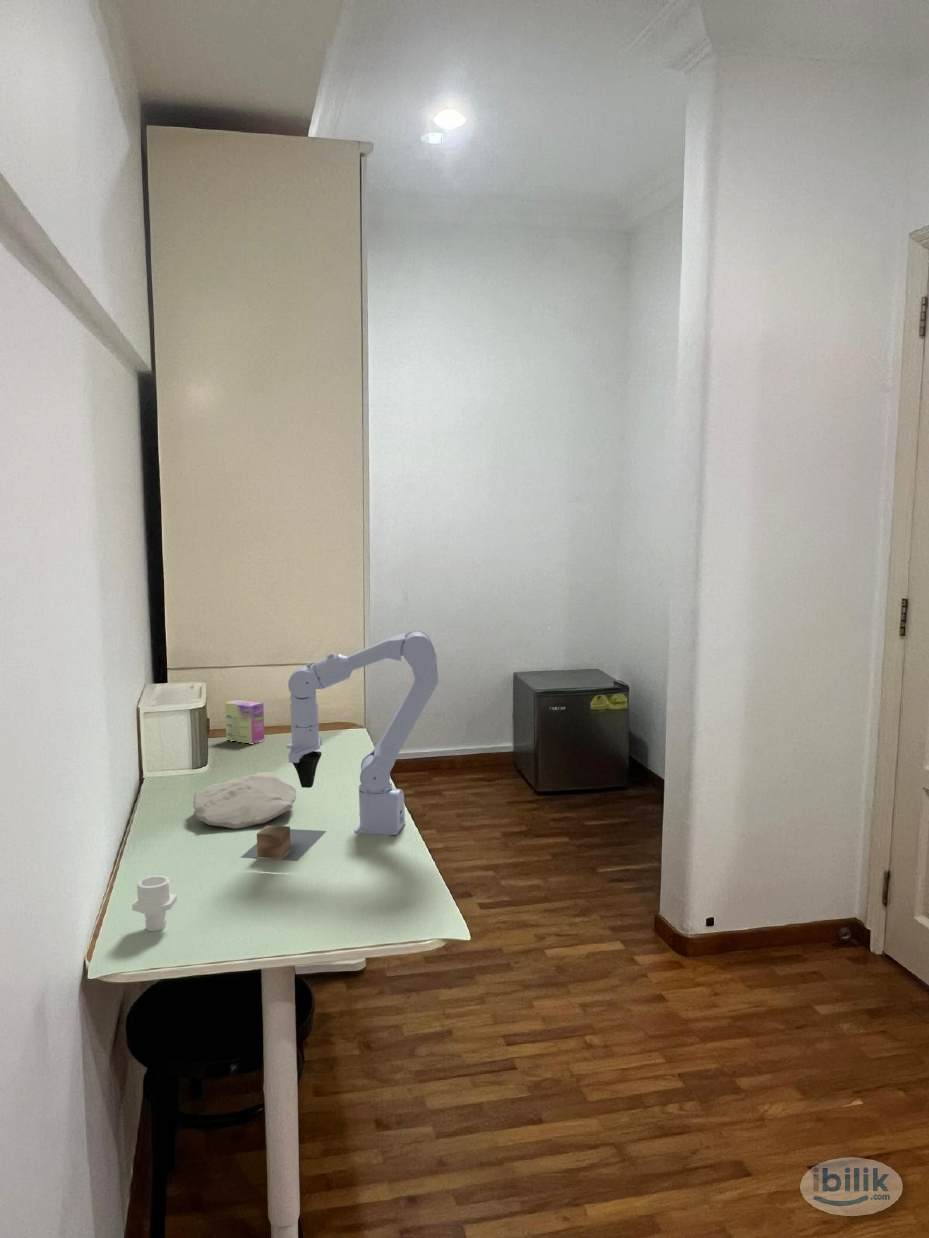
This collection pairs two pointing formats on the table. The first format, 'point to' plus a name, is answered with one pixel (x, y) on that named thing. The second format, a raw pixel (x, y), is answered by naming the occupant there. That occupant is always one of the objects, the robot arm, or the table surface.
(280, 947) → the table surface
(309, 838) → the mat
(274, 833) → the cube
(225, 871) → the table surface
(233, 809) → the rock
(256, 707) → the box
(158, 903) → the pipe fitting
